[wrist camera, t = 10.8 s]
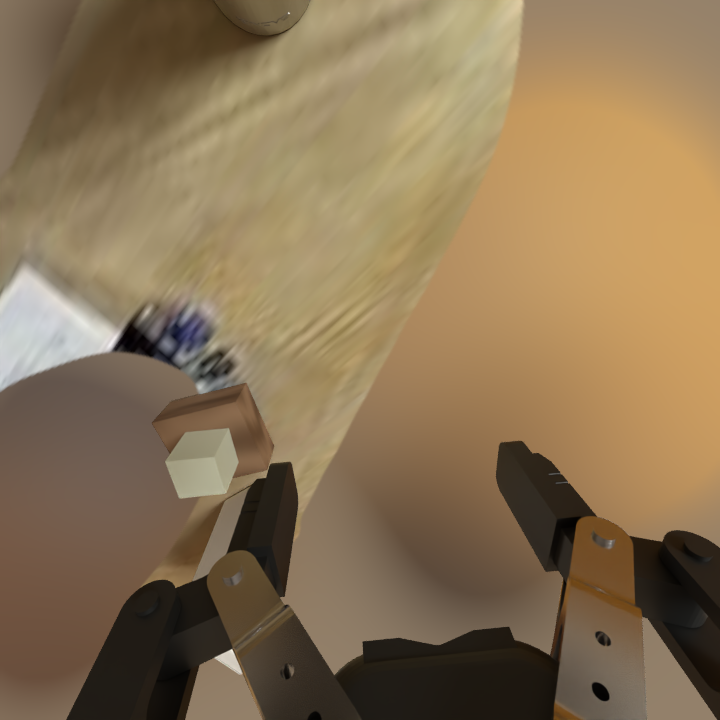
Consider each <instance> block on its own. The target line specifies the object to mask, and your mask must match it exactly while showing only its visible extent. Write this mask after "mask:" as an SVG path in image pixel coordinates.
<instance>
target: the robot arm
mask: <svg viewBox="0 0 720 720" xmlns="http://www.w3.org/2000/svg"><path fill="white" fill-rule="evenodd" d="M214 1H215V3H216V4H217V6H218V7H219V8H220V10H221V11H222V12H223V14H224V15H225V16H226V17H227V18H228V19H230V20H231V21H232V22H233V23H234V24H235V25H237V26H238V27H240V28H242V29H243V30H245V31H247V32H250V33H253V34H256V35H268V36H269V35H274V34H278V33H281V32H283V31H285V30H287V29H289V28H291V27H292V26H293V25H294V24H295V23H296V22H297V21H298V20H299V19H300V18H301V16H302V15H303V13H304V12H305V10H306V9H307V7H308V4H309V2H310V0H214ZM496 479H497V484H498V487H499V489H500V492H501V493H502V495H503V497H504V499H505V501H506V502H507V504H508V506H509V508H510V509H511V511H512V513H513V515H514V516H515V518H516V520H517V522H518V524H519V525H520V527H521V529H522V531H523V532H524V534H525V536H526V538H527V539H528V541H529V543H530V545H531V546H532V548H533V550H534V552H535V554H536V555H537V557H538V559H539V561H540V563H541V564H542V566H543V568H544V570H545V571H546V572H548V571H559V572H560V574H561V575H562V577H563V581H562V586H561V592H560V598H559V605H558V612H557V618H556V625H555V631H554V638H553V643H552V649H551V653H550V655H548V654H547V653H545V652H543V651H541V650H540V649H538V648H535V647H533V646H531V645H529V644H526V643H523V642H520V641H516V640H514V638H513V635H512V633H511V630H510V628H509V627H501V628H491V629H482V630H473V631H471V632H468V633H466V634H464V635H462V636H460V637H457V638H455V639H453V640H451V641H448V642H446V643H444V644H441V645H432V644H427V643H422V642H417V641H412V640H407V639H402V638H394V639H384V640H373V641H364V642H363V655H361V656H359V657H356V658H355V659H353V660H352V661H350V662H348V663H347V664H346V665H345V666H344V667H342V668H341V669H340V670H339V671H338V672H337V673H336V674H335V675H334V674H333V673H332V671H331V670H330V668H329V666H328V665H327V663H326V662H325V660H324V659H323V657H322V655H321V654H320V652H319V651H318V649H317V648H316V646H315V644H314V643H313V641H312V640H311V638H310V636H309V635H308V633H307V632H306V630H305V629H304V627H303V625H302V624H301V622H300V621H299V619H298V618H297V616H296V615H295V613H294V611H293V610H292V608H291V607H290V606H289V605H284V603H283V602H282V600H281V599H280V597H284V596H285V591H286V585H287V578H288V572H289V565H290V558H291V551H292V544H293V538H294V531H295V524H296V517H297V511H298V493H297V488H296V483H295V478H294V473H293V468H292V464H291V462H283V463H272V464H270V466H269V470H268V473H267V477H266V478H262V479H256V481H255V482H254V483H253V484H252V485H251V487H250V488H249V489H248V491H247V494H246V497H245V500H244V504H243V506H242V509H241V514H240V515H239V518H238V521H237V524H236V527H235V530H234V533H233V535H232V538H231V541H230V544H229V547H228V550H227V553H226V555H225V556H223V557H222V558H220V559H219V560H218V561H217V562H216V563H215V564H214V565H213V567H212V568H211V570H210V572H209V574H207V575H206V576H204V577H202V578H200V579H197V580H195V581H192V582H190V583H187V584H185V585H182V586H180V587H177V588H175V586H174V584H173V583H172V582H170V581H168V580H157V581H153V582H150V583H148V584H146V585H144V586H143V587H141V588H140V589H138V590H137V591H136V592H135V593H134V594H133V595H131V597H130V598H129V599H128V600H127V601H126V603H125V604H124V605H123V607H122V609H121V611H120V613H119V615H118V617H117V619H116V621H115V623H114V625H113V627H112V629H111V631H110V633H109V635H108V637H107V639H106V641H105V643H104V645H103V647H102V649H101V651H100V653H99V655H98V657H97V659H96V661H95V663H94V665H93V667H92V669H91V671H90V673H89V675H88V677H87V679H86V681H85V683H84V685H83V687H82V689H81V691H80V693H79V695H78V697H77V699H76V701H75V703H74V705H73V708H72V709H71V712H70V713H69V715H68V717H67V720H185V718H186V713H187V710H188V706H189V702H190V698H191V695H192V691H193V687H194V683H195V680H196V676H197V672H198V668H199V665H200V664H202V663H204V662H206V661H208V660H210V659H212V658H215V657H217V656H219V655H221V654H223V653H225V652H227V651H229V650H231V649H232V650H233V652H234V654H235V657H236V659H237V661H238V664H239V666H240V668H241V671H242V673H243V675H244V677H245V680H246V682H247V685H248V687H249V689H250V692H251V694H252V697H253V699H254V701H255V703H256V706H257V708H258V710H259V713H260V715H261V718H262V720H647V710H646V709H647V708H646V686H645V666H644V644H643V623H642V622H643V621H642V617H645V618H648V620H649V621H650V622H651V624H652V626H653V627H654V629H655V630H656V631H657V633H658V634H659V636H660V637H661V639H662V640H663V642H664V643H665V644H666V646H667V647H668V649H669V650H670V652H671V653H672V655H673V656H674V658H675V659H676V660H677V662H678V663H679V665H680V666H681V668H682V669H683V670H684V672H685V673H686V675H687V676H688V678H689V679H690V681H691V682H692V684H693V685H694V686H695V688H696V689H697V691H698V692H699V694H700V695H701V697H702V698H703V700H704V701H705V702H706V704H707V705H708V707H709V708H710V710H711V711H712V713H713V714H714V716H715V717H716V718H717V720H720V548H719V547H718V546H716V545H715V544H714V543H712V542H711V541H709V540H707V539H705V538H703V537H701V536H699V535H696V534H694V533H691V532H687V531H680V530H676V531H671V532H668V533H667V534H666V535H665V537H664V539H663V541H662V542H660V541H654V540H648V539H643V538H637V537H632V536H629V535H628V534H627V533H626V532H625V531H624V530H623V529H622V528H621V527H619V526H618V525H616V524H615V523H612V522H611V521H609V520H606V519H604V518H600V517H597V516H596V515H595V513H594V512H593V511H592V510H591V509H590V507H589V506H588V505H587V504H586V503H585V502H584V500H583V499H582V498H581V497H580V495H579V494H578V493H577V492H576V491H575V490H574V488H573V487H572V486H571V485H570V484H568V481H567V480H566V479H565V478H564V476H563V475H561V474H560V471H559V470H558V469H557V468H556V467H555V465H554V464H553V463H552V462H551V461H549V460H548V459H547V458H545V457H543V456H542V455H540V454H539V453H533V454H532V452H531V451H530V450H529V449H528V447H527V446H526V445H525V444H524V443H523V442H522V441H512V442H502V443H500V445H499V452H498V461H497V470H496Z"/></svg>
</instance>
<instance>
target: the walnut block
mask: <svg viewBox="0 0 720 720" xmlns="http://www.w3.org/2000/svg"><path fill="white" fill-rule="evenodd" d="M152 424H153V426H154V428H155V429H156V431H157V433H158V434H159V436H160V438H161V439H162V441H163V443H164V444H165V446H166V448H167V449H168V451H169V453H170V454H171V452H172V451H173V449H174V448H175V446H176V445H177V443H178V442H179V441H180V439H181V438H182V436H183V435H184V433H185V432H193V431H204V430H214V429H225V428H229V430H230V434H231V437H232V441H233V444H234V448H235V451H236V455H237V458H238V462H239V463H238V465H237V467H236V470H235V472H234V475H233V477H232V478H235V477H240V476H244V475H248V474H252V473H256V472H261V471H265V470H267V469H268V466H269V462H270V459H271V455H272V452H273V448H274V445H273V442H272V440H271V438H270V436H269V433H268V431H267V429H266V427H265V424H264V422H263V420H262V417H261V415H260V413H259V411H258V408H257V406H256V404H255V402H254V399H253V397H252V395H251V392H250V390H249V388H248V386H247V383H244V384H240V385H236V386H232V387H228V388H224V389H220V390H216V391H212V392H208V393H204V394H196V395H192V396H188V397H184V398H180V399H176V400H173V401H171V402H170V403H169V404H168V405H167V406H166V408H165V409H164V410H163V411H162V412H161V413H160V414H159V415H158V417H157V418H156V419H155V420H154V421H153V422H152Z"/></svg>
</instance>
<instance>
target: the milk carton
mask: <svg viewBox="0 0 720 720" xmlns="http://www.w3.org/2000/svg"><path fill="white" fill-rule="evenodd" d="M250 487H251V486H250ZM250 487H248V488H246V489H245V490H243V491H241V492H239V493H238V494H236V495H234V496H232V497H231V498H229V499H227V500H225V502H224V504H223V506H222V509H221V511H220V514H219V516H218V519H217V521H216V524H215V526H214V529H213V531H212V534H211V536H210V539H209V541H208V543H207V546H206V548H205V551H204V553H203V556H202V558H201V561H200V563H199V566H198V568H197V571H196V573H195V576H194V578H193V581H195V580H197V579H200V578H202V577H204V576H206V575H207V574H209V572H210V570H211V568H212V567H213V565H214V564H215V563H216V562H217V561H218V560H219V559H220V558H222V557H223V556H225V555H226V553H227V550H228V547H229V544H230V541H231V538H232V535H233V533H234V530H235V527H236V524H237V521H238V518H239V515H240V514H241V509H242V506H243V504H244V500H245V497H246V494H247V491H248V489H249V488H250ZM215 659H217V660H218V661H220V662H221V663H223V664H224V665H226V666H227V667H229V668H230V669H232V670H233V671H235V672H236V673H238V674H242V671H241V668H240V666H239V664H238V661H237V659H236V657H235V654H234V652H233V650H232V649H231V650H229V651H227V652H225V653H223V654H221V655H219V656H217V657H215Z"/></svg>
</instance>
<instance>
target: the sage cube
mask: <svg viewBox="0 0 720 720" xmlns="http://www.w3.org/2000/svg"><path fill="white" fill-rule="evenodd" d="M165 463H166V466H167V468H168V471H169V473H170V476H171V479H172V481H173V484H174V486H175V489H176V491H177V494H178V496H179V498H188V497H198V496H208V495H218V494H226V492H227V490H228V487H229V485H230V482H231V480H232V477H233V475H234V472H235V470H236V467H237V465H238V463H239V462H238V458H237V455H236V451H235V448H234V444H233V441H232V437H231V434H230V430H229V428H225V429H214V430H204V431H193V432H185V433H184V435H183V436H182V438H181V439H180V441H179V442H178V443H177V445H176V446H175V448H174V449H173V451H172V452H171V454H170V455H169V457H168V458H167V460H166V461H165Z"/></svg>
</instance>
